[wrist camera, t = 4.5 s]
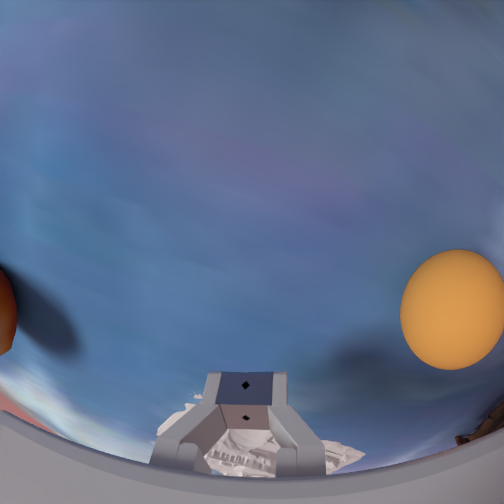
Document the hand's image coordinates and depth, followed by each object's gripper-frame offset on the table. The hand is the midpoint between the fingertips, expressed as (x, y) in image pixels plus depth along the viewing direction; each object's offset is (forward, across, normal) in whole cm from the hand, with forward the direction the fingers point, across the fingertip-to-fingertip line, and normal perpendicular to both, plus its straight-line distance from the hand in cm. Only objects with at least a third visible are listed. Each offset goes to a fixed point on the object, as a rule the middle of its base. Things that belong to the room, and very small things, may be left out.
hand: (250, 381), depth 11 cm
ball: (+3, -10, -1) cm, 10 cm away
